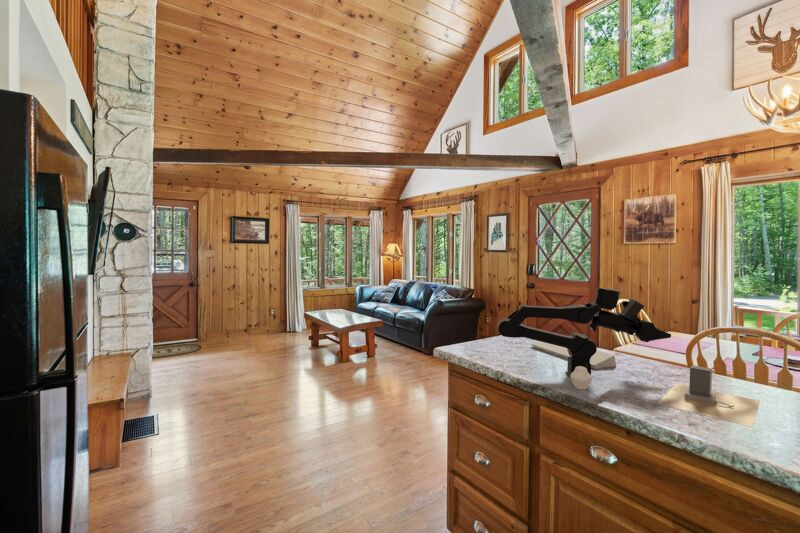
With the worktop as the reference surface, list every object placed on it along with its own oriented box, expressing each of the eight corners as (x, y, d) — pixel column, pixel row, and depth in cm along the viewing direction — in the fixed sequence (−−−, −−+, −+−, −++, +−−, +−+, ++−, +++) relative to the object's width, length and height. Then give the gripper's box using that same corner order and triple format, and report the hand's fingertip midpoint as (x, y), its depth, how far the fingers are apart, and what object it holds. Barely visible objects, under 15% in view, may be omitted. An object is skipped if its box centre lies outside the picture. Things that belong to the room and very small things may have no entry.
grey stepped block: (684, 399, 106) (685, 367, 105) (688, 394, 110) (689, 363, 109) (712, 406, 101) (713, 372, 101) (715, 400, 105) (716, 368, 105)
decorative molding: (596, 377, 138) (616, 367, 141) (594, 365, 137) (614, 355, 141) (533, 353, 170) (550, 346, 173) (531, 343, 169) (548, 336, 172)
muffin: (569, 389, 117) (570, 367, 117) (570, 383, 123) (570, 362, 122) (592, 392, 115) (592, 369, 114) (591, 386, 120) (591, 364, 120)
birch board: (654, 408, 103) (654, 403, 103) (674, 386, 120) (674, 382, 120) (754, 434, 89) (755, 428, 89) (762, 405, 105) (762, 400, 105)
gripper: (628, 301, 117) (685, 313, 113) (610, 294, 135) (658, 305, 131) (619, 335, 118) (675, 349, 114) (602, 324, 136) (650, 335, 132)
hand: (664, 333), depth 123 cm, fingers open, 9 cm apart
